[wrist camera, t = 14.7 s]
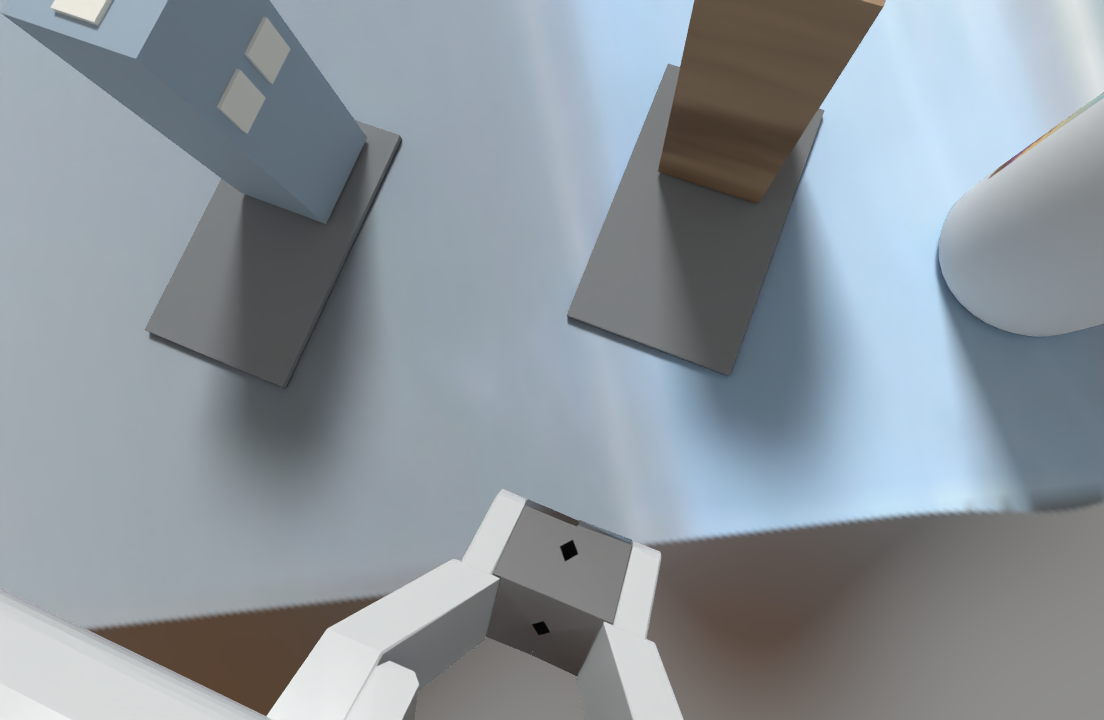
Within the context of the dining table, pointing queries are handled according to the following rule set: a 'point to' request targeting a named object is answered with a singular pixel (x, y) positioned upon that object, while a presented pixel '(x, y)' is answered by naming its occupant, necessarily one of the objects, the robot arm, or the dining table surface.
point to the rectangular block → (213, 88)
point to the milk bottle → (1034, 234)
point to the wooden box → (755, 86)
